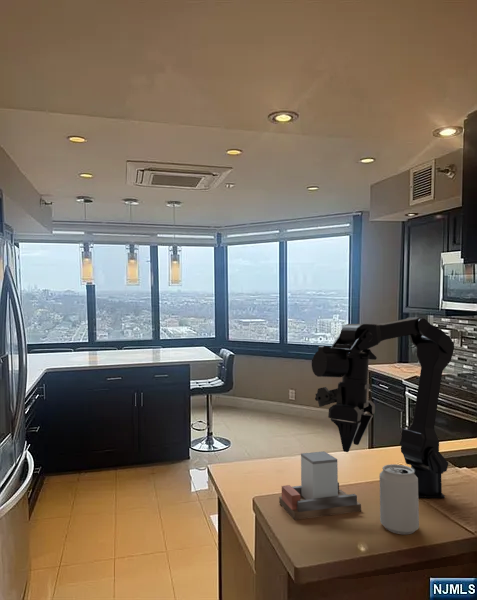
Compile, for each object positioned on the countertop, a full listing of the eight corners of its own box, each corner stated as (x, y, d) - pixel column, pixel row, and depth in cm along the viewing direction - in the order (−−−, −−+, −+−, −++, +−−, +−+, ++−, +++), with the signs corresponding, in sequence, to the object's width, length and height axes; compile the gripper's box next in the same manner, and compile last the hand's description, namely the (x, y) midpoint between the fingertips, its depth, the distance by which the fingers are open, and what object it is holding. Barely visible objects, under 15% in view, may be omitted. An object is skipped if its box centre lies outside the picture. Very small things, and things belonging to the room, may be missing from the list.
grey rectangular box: (324, 492, 104) (324, 451, 105) (338, 503, 98) (337, 459, 98) (301, 495, 102) (300, 453, 103) (313, 506, 96) (312, 461, 97)
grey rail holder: (340, 495, 107) (340, 476, 107) (361, 510, 98) (360, 490, 98) (279, 503, 102) (279, 483, 102) (294, 519, 94) (294, 498, 94)
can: (422, 538, 86) (421, 475, 86) (382, 534, 87) (381, 472, 88) (415, 521, 93) (414, 463, 94) (378, 518, 94) (377, 461, 95)
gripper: (332, 373, 113) (328, 435, 111) (307, 376, 96) (303, 448, 95) (376, 378, 107) (373, 443, 106) (358, 381, 91) (354, 459, 90)
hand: (351, 448), depth 99 cm, fingers open, 9 cm apart
